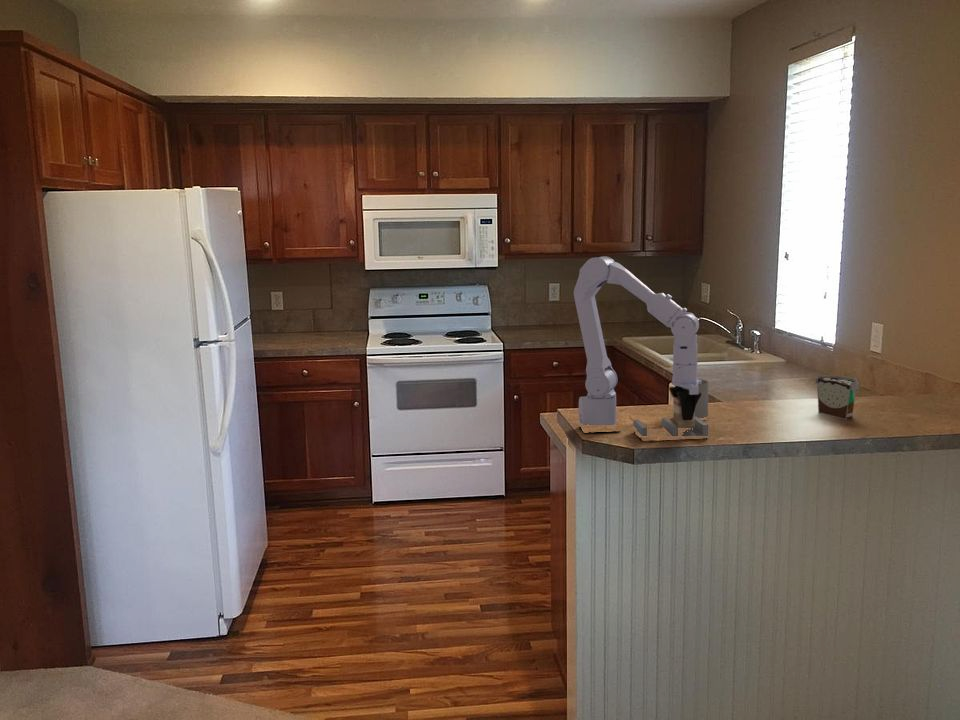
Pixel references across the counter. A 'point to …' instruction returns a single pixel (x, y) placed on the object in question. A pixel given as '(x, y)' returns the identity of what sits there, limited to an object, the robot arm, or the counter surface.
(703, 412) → the cup
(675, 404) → the peg
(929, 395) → the counter surface
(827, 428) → the counter surface
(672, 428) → the gray i-beam stand
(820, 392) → the food container
